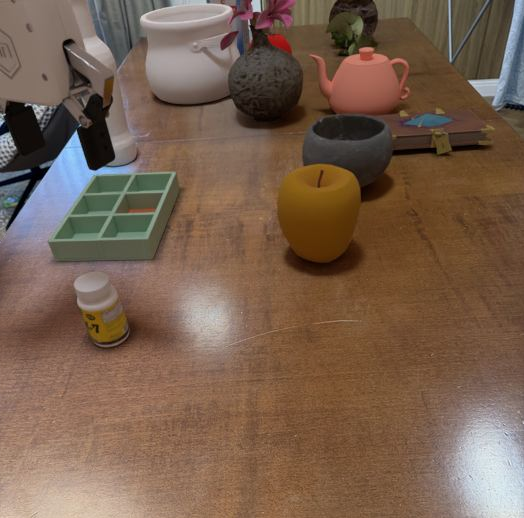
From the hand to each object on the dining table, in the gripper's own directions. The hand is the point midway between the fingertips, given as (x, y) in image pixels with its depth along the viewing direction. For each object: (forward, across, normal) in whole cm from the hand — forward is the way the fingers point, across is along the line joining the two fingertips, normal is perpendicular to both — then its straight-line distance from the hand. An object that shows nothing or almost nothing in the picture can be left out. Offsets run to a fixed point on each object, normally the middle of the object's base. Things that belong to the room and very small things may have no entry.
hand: (66, 157), depth 50 cm
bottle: (+21, -35, +40) cm, 57 cm away
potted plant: (+21, -20, +126) cm, 129 cm away
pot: (+21, -44, +81) cm, 95 cm away
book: (+22, +17, +68) cm, 74 cm away
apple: (+22, +17, +24) cm, 36 cm away
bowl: (+22, +12, +46) cm, 52 cm away
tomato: (+21, -32, +100) cm, 107 cm away
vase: (+21, -18, +70) cm, 76 cm away
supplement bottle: (+22, +1, -3) cm, 22 cm away
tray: (+21, -17, +20) cm, 33 cm away
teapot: (+22, 0, +80) cm, 83 cm away
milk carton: (+21, -52, +110) cm, 124 cm away
